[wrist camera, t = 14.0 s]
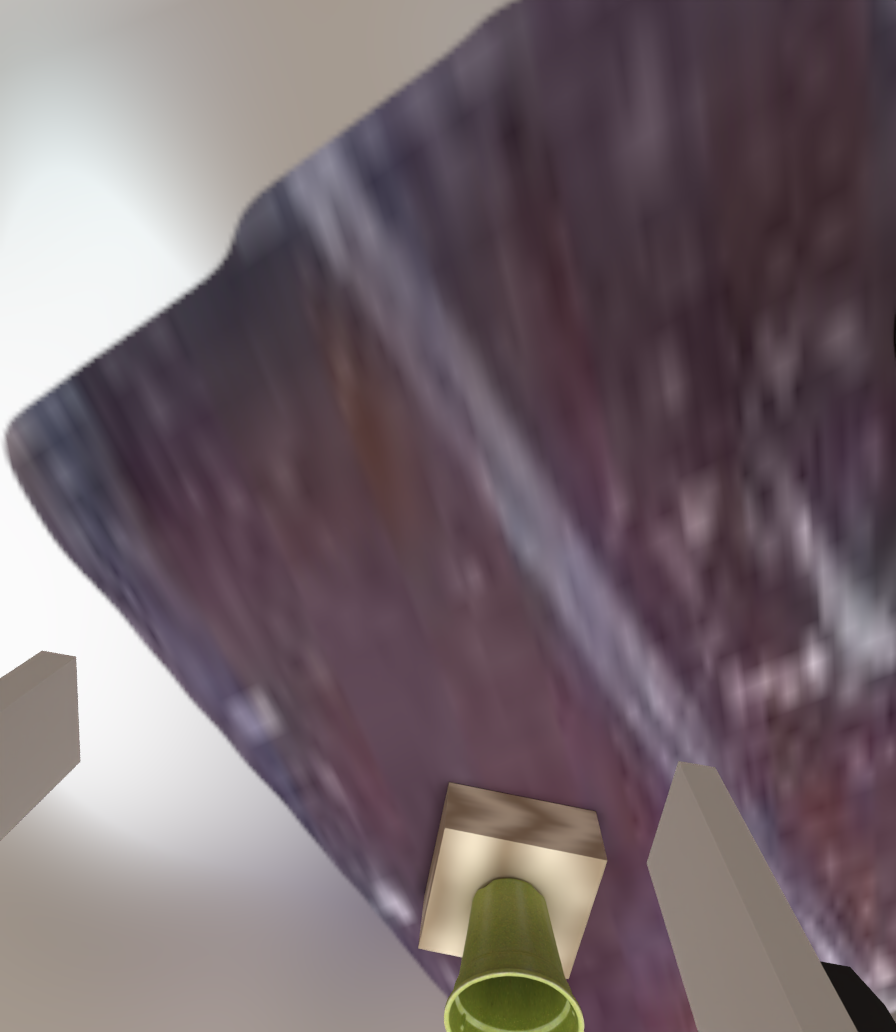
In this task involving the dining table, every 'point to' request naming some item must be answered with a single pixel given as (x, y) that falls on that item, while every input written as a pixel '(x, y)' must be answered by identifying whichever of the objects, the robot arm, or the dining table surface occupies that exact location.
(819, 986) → the robot arm
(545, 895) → the ash block
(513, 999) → the plant pot
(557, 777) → the dining table surface
